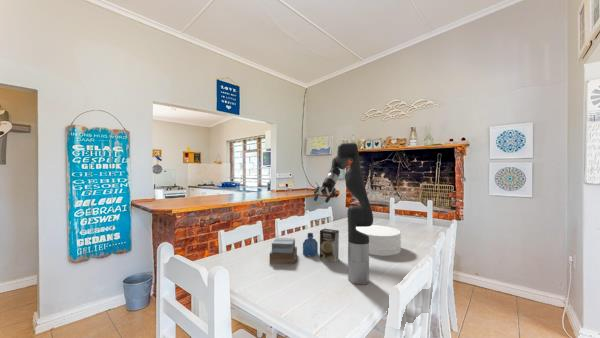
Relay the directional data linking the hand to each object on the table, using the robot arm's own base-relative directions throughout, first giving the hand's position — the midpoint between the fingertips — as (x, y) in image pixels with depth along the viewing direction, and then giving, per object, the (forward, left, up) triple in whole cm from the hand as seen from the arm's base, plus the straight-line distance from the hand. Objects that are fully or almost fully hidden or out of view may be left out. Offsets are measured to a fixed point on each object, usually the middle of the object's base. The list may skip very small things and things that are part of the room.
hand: (320, 201), depth 156 cm
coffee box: (-17, -5, -30) cm, 35 cm away
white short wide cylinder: (+7, -35, -30) cm, 47 cm away
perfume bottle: (-9, +6, -30) cm, 32 cm away
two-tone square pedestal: (-19, +20, -30) cm, 40 cm away
